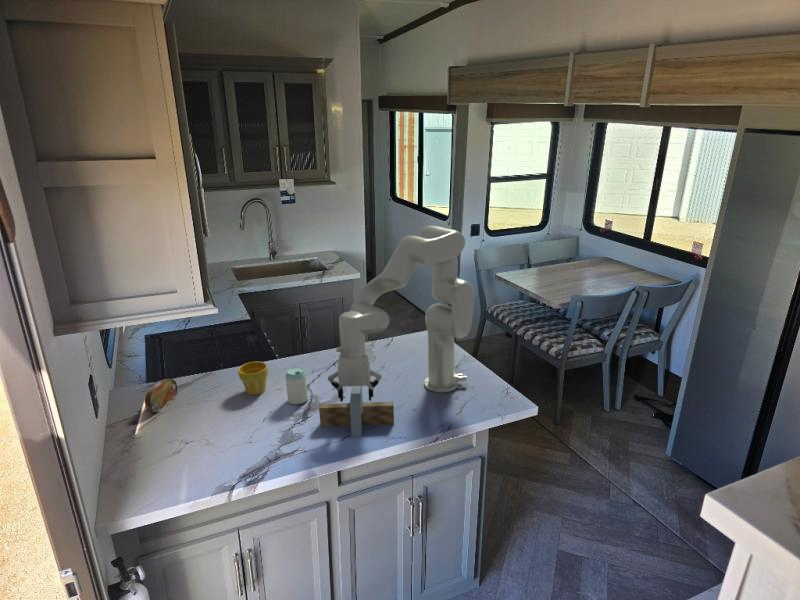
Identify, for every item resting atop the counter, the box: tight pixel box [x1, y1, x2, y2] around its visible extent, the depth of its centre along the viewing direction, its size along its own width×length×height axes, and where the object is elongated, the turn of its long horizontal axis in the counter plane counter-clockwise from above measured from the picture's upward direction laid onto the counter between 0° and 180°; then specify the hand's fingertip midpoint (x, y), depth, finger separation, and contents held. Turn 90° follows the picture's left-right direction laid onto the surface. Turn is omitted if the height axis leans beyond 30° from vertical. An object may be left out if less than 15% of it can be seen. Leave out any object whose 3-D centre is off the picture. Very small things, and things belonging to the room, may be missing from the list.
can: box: [285, 366, 309, 405], centre depth 185 cm, size 7×7×12 cm
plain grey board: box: [349, 386, 364, 439], centre depth 170 cm, size 16×3×12 cm, turn 2°
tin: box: [144, 378, 178, 413], centre depth 185 cm, size 15×3×8 cm, turn 168°
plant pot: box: [237, 360, 269, 396], centre depth 193 cm, size 10×10×10 cm
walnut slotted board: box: [318, 401, 395, 428], centre depth 171 cm, size 24×2×7 cm, turn 91°
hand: (356, 399), depth 169 cm, fingers open, 8 cm apart
